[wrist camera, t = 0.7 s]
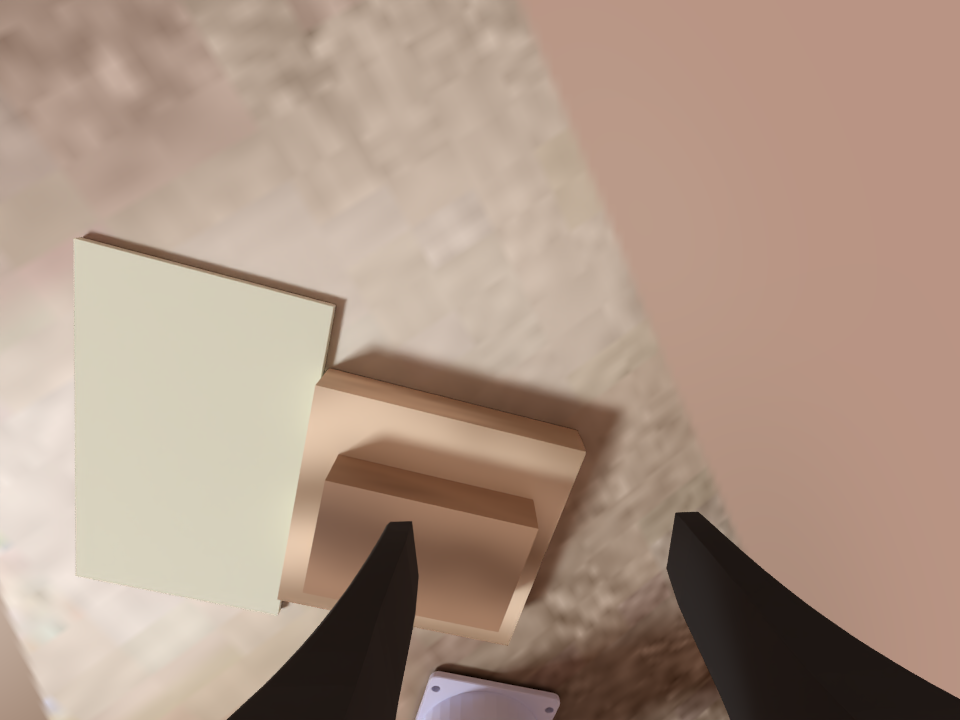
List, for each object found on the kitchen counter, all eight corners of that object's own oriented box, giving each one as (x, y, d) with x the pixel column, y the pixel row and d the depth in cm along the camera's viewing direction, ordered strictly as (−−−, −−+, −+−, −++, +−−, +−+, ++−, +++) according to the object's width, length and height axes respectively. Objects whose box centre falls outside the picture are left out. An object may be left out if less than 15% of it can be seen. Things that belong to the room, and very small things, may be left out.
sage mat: (280, 609, 27) (277, 615, 26) (81, 570, 26) (75, 575, 25) (336, 304, 21) (333, 307, 20) (81, 237, 20) (73, 238, 19)
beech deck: (505, 613, 27) (507, 645, 25) (291, 569, 26) (277, 599, 24) (577, 430, 23) (586, 452, 21) (329, 368, 22) (315, 384, 20)
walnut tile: (496, 597, 24) (498, 632, 22) (316, 559, 23) (302, 592, 21) (533, 499, 22) (538, 528, 20) (338, 454, 21) (324, 480, 19)
